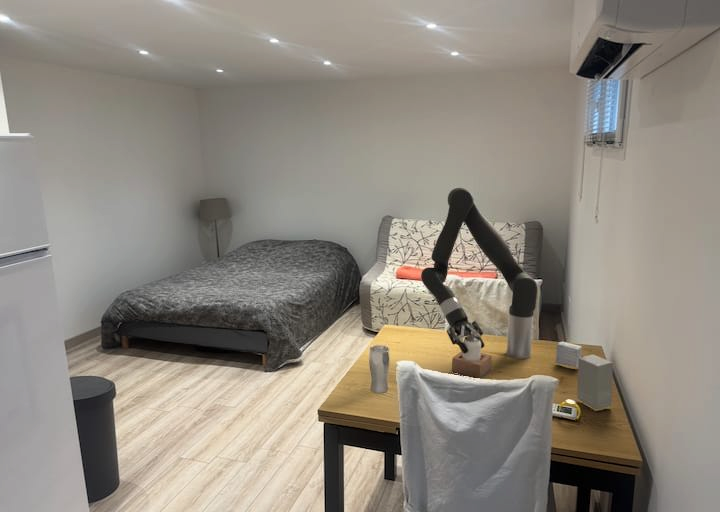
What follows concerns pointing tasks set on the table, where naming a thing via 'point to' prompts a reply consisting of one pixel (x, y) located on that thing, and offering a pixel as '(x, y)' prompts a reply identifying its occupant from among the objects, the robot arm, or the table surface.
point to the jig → (471, 366)
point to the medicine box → (568, 354)
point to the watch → (571, 403)
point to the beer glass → (379, 368)
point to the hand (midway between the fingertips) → (474, 350)
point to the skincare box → (595, 381)
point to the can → (472, 348)
